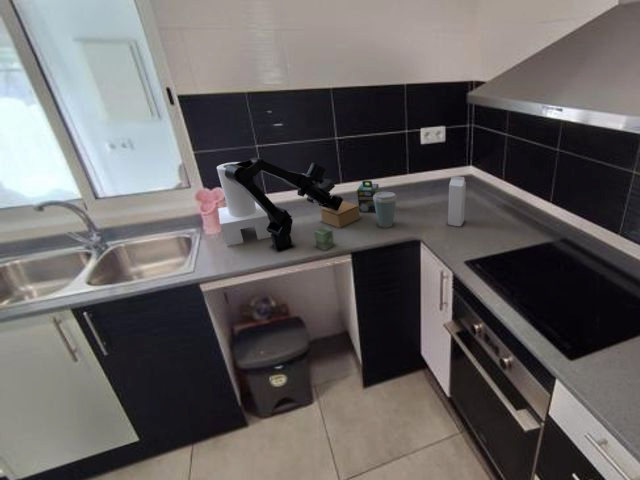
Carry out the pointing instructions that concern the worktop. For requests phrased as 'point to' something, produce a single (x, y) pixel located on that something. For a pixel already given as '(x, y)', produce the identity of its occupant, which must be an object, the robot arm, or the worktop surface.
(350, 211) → the carton
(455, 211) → the milk
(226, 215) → the paper towel holder
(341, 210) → the flap
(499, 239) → the worktop surface
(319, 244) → the block
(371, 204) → the chalk box
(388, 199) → the disposable coffee cup
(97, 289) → the worktop surface
